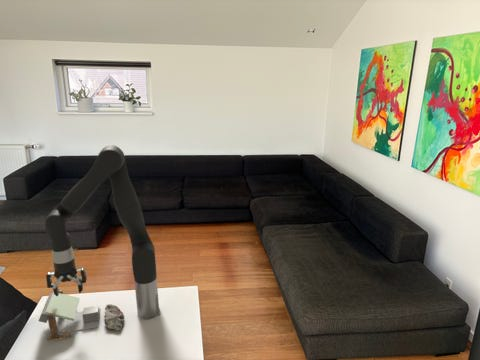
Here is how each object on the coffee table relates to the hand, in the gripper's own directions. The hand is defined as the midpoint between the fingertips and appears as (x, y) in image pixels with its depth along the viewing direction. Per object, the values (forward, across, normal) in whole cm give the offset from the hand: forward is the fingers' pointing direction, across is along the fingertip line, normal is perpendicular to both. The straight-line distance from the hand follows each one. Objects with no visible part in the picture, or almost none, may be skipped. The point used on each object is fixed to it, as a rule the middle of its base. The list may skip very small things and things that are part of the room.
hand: (69, 293), depth 142 cm
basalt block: (+12, +4, 0) cm, 12 cm away
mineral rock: (+15, +16, -3) cm, 22 cm away
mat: (+14, +4, 0) cm, 15 cm away
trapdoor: (+9, -5, 0) cm, 10 cm away
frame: (+14, -4, 0) cm, 15 cm away
